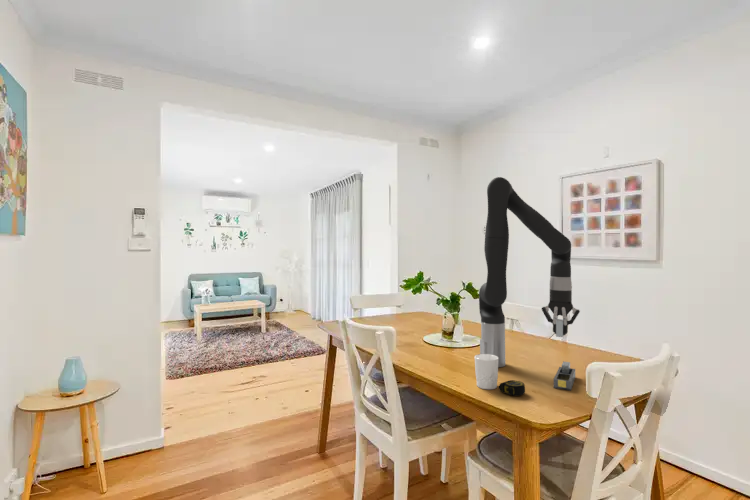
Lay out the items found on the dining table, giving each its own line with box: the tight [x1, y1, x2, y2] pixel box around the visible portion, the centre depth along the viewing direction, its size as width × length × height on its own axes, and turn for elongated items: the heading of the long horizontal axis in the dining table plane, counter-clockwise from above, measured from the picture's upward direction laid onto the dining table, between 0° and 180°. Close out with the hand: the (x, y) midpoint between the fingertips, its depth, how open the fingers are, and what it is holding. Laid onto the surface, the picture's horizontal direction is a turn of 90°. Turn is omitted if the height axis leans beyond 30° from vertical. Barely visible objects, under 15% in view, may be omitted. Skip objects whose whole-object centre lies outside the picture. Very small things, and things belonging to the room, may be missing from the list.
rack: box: [553, 361, 576, 392], centre depth 133 cm, size 16×5×6 cm, turn 148°
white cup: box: [474, 353, 499, 390], centre depth 131 cm, size 8×8×10 cm
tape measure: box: [497, 380, 526, 397], centre depth 124 cm, size 7×7×4 cm
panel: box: [555, 318, 565, 338], centre depth 145 cm, size 5×2×6 cm, turn 147°
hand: (560, 334), depth 145 cm, fingers closed on panel, 2 cm apart
